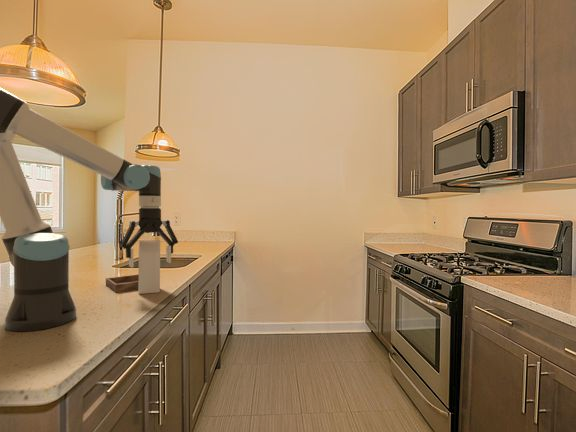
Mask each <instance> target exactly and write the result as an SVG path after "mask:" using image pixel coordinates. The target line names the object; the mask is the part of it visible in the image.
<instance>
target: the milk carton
mask: <svg viewBox="0 0 576 432" xmlns="http://www.w3.org/2000/svg"><path fill="white" fill-rule="evenodd" d="M138 242H139V243H138V274H139V283H138V289H137V291H138V293H137V294H139V295H143V294H144V295H145V294H157V293H160V291H161V240H160V239H159V240H157V239H155V240H139V241H138Z"/></svg>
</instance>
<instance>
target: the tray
mask: <svg viewBox="0 0 576 432" xmlns="http://www.w3.org/2000/svg"><path fill="white" fill-rule="evenodd" d="M138 283H139V273H138V274H132V275H131V274H130V275H123V276H121V275H120V276H114V277H105V286H106V287H107V288H109V289H110V290H111V291H112V292H114V293H121V292H127V291H133V290H138Z"/></svg>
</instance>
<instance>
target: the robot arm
mask: <svg viewBox="0 0 576 432" xmlns="http://www.w3.org/2000/svg"><path fill="white" fill-rule="evenodd" d="M16 135H17V136H19V137H20V138H23V139H25V140H27V141H29V142H31V143H34V144H35V145H37V146H40V147H42V148H44V149H46V150H48V151H50V152H52V153H54V154H57V155H58V156H60V157H63V158H65V159H67V160H69V161H71V162H73V163H75V164H77V165H79V166H81V167H84V168H86V169H87V170H90V171H92V172H94V173H96V174H98V175H100V185H101V188H102V189H103V190H105V191H111V192H115V191H116V192H117V191H119V192H121V191H124V192H138V207H140V208H139V209H138V219H139V220H138V221H135V220H134V221H133V220H130V221H129V227H128V228H127V231H126V232H125V234H124V236H123V239H122V241H121V242H120V244H119V247H120V248H122V249H125V257H126V259H128V267H130V268H134V267H135V265H134V248H132V247H133V246H134V245H135V244H136V243H137V242H138V240H139V239H140V238H141V236H143V235H144V234H145V233H147V234H149V233H153V234H154V233H157V234H158V235H160V237H161V238H162V240H164V242H166V244H167V245H166V246H165V247H166V248H165V249H166V250H165V254H166V255H165V257H166V258H165V260H166V261H165V262H166V263H168V264H171V263H172V254H174V246H175V245H176V244H178V243H179V241H178V238H177V237H176V234H175V233H174V230H173V228H172V227H171V222H170V220H168V219H164V220H162V208H160V207H161V206H162V195H161V194H162V191H161V190H162V186H161V185H162V175H161V168H160V167H159V166H157V165H151V164H149V165H146V164H141V165H140V164H136V163H135V164H133V163H131V162H130V161H127V160H125V159H124V158H122V157H120V156H118V155H116V154H115V153H113V152H111V151H109V150H107V149H106V148H103V147H102V146H100V145H98V144H96V143H95V142H93V141H90V140H88V139H87V138H85V137H83V136H81V135H79V134H78V133H76V132H74V131H72V130H71V129H69V128H67V127H65V126H62V125H61V124H60V123H57V122H55V121H53V120H52V119H50V118H49V117H46V116H45V115H43V114H41V113H38V112H37V111H35V110H33V109H32V108H30V107H29V104H28V102H26V101H25V100H24V99H21V98H19V97H17V96H16V95H14V94H12V93H10V92H9V91H7V90H5V89H3V88H1V87H0V220H1V222H2V224H3V228H5V232H4V233H3V234H2V236H1V240H2V242H3V245H4V248H5V249H6V252H7V254H8V258H9V261H10V264H11V265H12V266H13V286H14V287H13V288H14V289H13V299H12V301H11V303H10V306H9V309H8V311H7V314H6V315H5V318H4V320H5V321H4V322H5V323H4V328H5V329H6V330H7V331H11V332H31V331H39V330H45V329H51V328H53V327H59V326H61V325H64V324H67V323H69V322H71V321H73V320H74V319H75V318H76V317H77V307H76V305H75V303H74V300H73V297H72V295H71V293H70V290H69V289H70V288H69V287H70V286H69V282H70V280H69V279H70V278H69V273H70V272H69V267H70V266H69V264H70V263H69V262H70V261H69V257H70V256H69V251H70V244H69V239H68V238H67V236H65V235H63V234H60V233H54V232H53V229H52V227H51V225H50V224H49V223H46V222H44V221H43V220H42V218H41V216H40V213H39V210H38V208H37V205H36V202H35V199H34V198H33V195H32V192H31V190H30V187H29V184H28V182H27V179H26V176H25V173H24V172H23V169H22V167H21V162H19V159H18V155H17V154H16V150H15V149H14V145H13V143H12V141H13V140H14V138H16ZM162 226H163V227H164V228H165V231H167V234H168V235H169V236H168V235H167V234H166V233H165V232H164V231H163V229H162V228H161V227H162ZM137 227H139V229H138V230H137V232H136V233H135V234H134V236H133V237H132V235H133V233H134V231H135V228H137ZM131 237H132V238H131ZM130 238H131V239H130Z"/></svg>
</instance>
